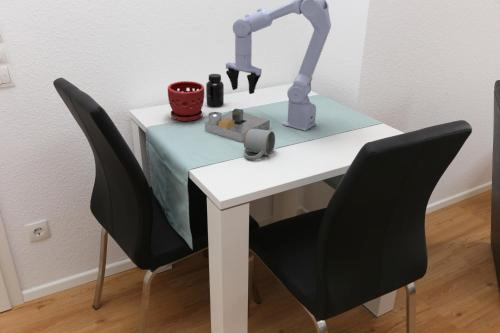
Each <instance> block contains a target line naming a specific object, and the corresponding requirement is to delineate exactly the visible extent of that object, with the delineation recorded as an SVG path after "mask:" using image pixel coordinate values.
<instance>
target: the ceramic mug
mask: <svg viewBox="0 0 500 333" xmlns="http://www.w3.org/2000/svg"><path fill="white" fill-rule="evenodd" d="M275 146H276V135H275V131H273V130H270V129H269V130H268V129H267V130H260V129H249V130H248V131H247V132H246V134H245V136H244V141H243V147H244V150H243V156H244V157H245V159H247V160H249V161H257V160H259V159H260V158H261V157H262V156H271V155H272V153H273V152H274V148H275ZM247 152H250V153H256V155H252V156H251V155H250V156H249V155H248V154H247Z"/></svg>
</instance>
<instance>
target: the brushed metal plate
mask: <svg viewBox="0 0 500 333" xmlns="http://www.w3.org/2000/svg"><path fill="white" fill-rule="evenodd" d="M232 111H233V110H231V111H229V112H227V113H224V114H222V113H221V112H220V111H212V112H209V113H208V120H207V121H206V122H204V131H205V132H208V133H211V134H214V135H217V136H219V137H224V138H227V139H230V140H233V141H236V142H240V143H244V136H245V134H246V132H247V131H248V130H249V129H260V130H268V129H269V130H270V124H271V122H270V119H268V118H264V117H260V116H256V115H253V114H249V113H246V112H243V123H242V124H239V125H238V124H235V120H232Z"/></svg>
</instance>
